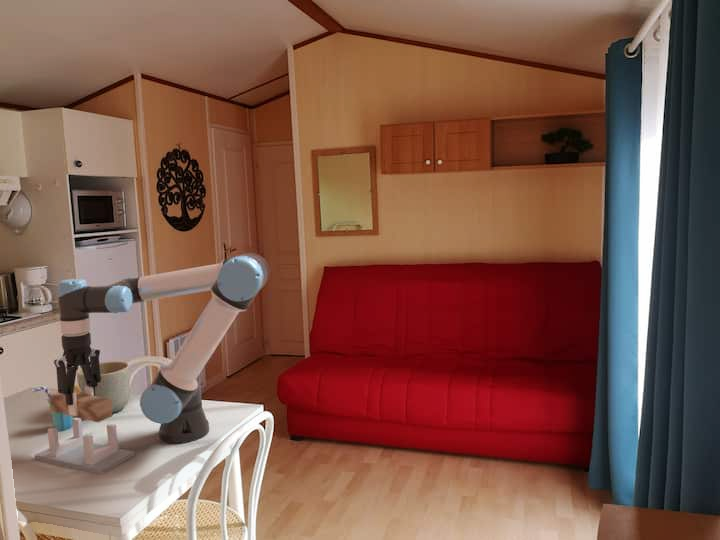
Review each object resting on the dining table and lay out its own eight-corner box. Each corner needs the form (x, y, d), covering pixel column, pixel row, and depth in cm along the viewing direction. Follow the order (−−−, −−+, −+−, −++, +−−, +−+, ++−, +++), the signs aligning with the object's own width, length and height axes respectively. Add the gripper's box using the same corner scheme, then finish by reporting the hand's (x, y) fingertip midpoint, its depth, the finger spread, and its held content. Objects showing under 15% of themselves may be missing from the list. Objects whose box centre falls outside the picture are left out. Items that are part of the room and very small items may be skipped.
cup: (36, 437, 184) (31, 391, 182) (36, 429, 191) (31, 385, 189) (85, 427, 191) (81, 383, 189) (83, 420, 198) (79, 377, 196)
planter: (79, 407, 210) (75, 366, 208) (129, 398, 218) (125, 358, 216) (81, 422, 196) (77, 378, 194) (135, 412, 203) (131, 370, 201)
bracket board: (134, 455, 169) (131, 425, 168) (100, 474, 158) (97, 441, 157) (70, 442, 179) (67, 414, 178) (35, 459, 169) (31, 428, 167)
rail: (112, 416, 167) (111, 399, 167) (97, 422, 163) (96, 405, 162) (65, 405, 176) (64, 389, 176) (50, 410, 172) (49, 394, 171)
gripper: (93, 325, 176) (99, 399, 179) (37, 339, 160) (45, 420, 163) (111, 327, 173) (116, 403, 176) (55, 342, 157) (63, 424, 160)
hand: (82, 411), depth 169 cm, fingers closed on rail, 5 cm apart
